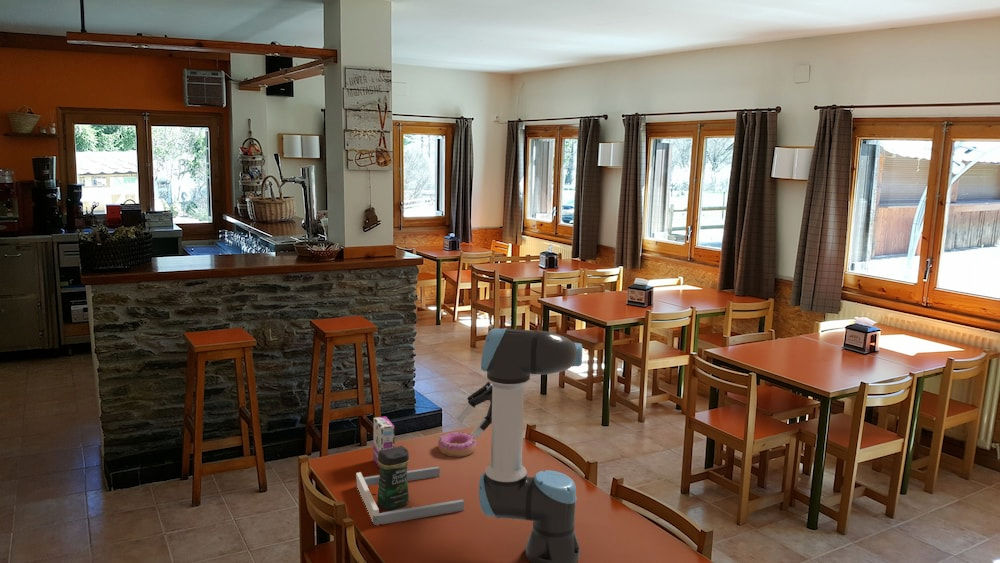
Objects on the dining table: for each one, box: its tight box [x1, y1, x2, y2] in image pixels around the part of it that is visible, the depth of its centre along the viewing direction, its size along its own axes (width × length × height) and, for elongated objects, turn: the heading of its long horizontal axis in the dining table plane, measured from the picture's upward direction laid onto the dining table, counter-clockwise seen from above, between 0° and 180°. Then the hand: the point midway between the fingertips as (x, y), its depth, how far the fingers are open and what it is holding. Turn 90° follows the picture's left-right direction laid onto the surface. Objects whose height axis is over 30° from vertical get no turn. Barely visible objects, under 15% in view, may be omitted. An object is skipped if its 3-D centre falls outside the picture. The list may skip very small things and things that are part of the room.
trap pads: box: [380, 506, 413, 513], centre depth 232 cm, size 24×10×1 cm, turn 22°
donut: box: [437, 431, 477, 458], centre depth 273 cm, size 14×14×5 cm
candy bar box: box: [372, 415, 396, 469], centre depth 257 cm, size 11×5×16 cm, turn 25°
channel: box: [355, 466, 465, 526], centre depth 234 cm, size 27×28×5 cm
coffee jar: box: [376, 445, 410, 510], centre depth 229 cm, size 10×8×19 cm
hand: (465, 428), depth 238 cm, fingers open, 13 cm apart
